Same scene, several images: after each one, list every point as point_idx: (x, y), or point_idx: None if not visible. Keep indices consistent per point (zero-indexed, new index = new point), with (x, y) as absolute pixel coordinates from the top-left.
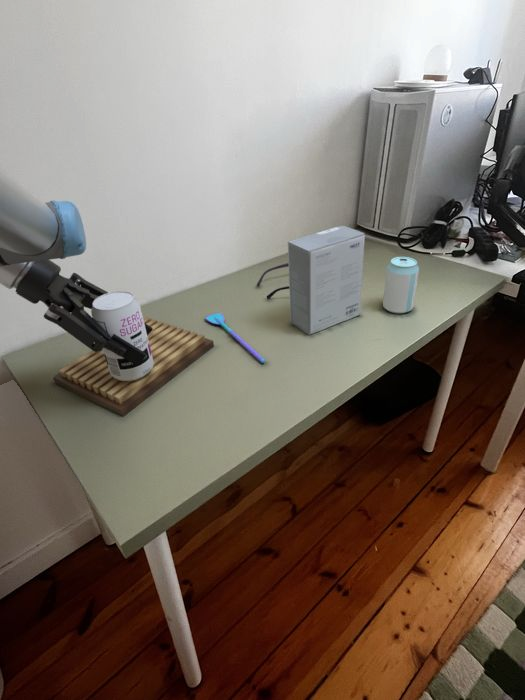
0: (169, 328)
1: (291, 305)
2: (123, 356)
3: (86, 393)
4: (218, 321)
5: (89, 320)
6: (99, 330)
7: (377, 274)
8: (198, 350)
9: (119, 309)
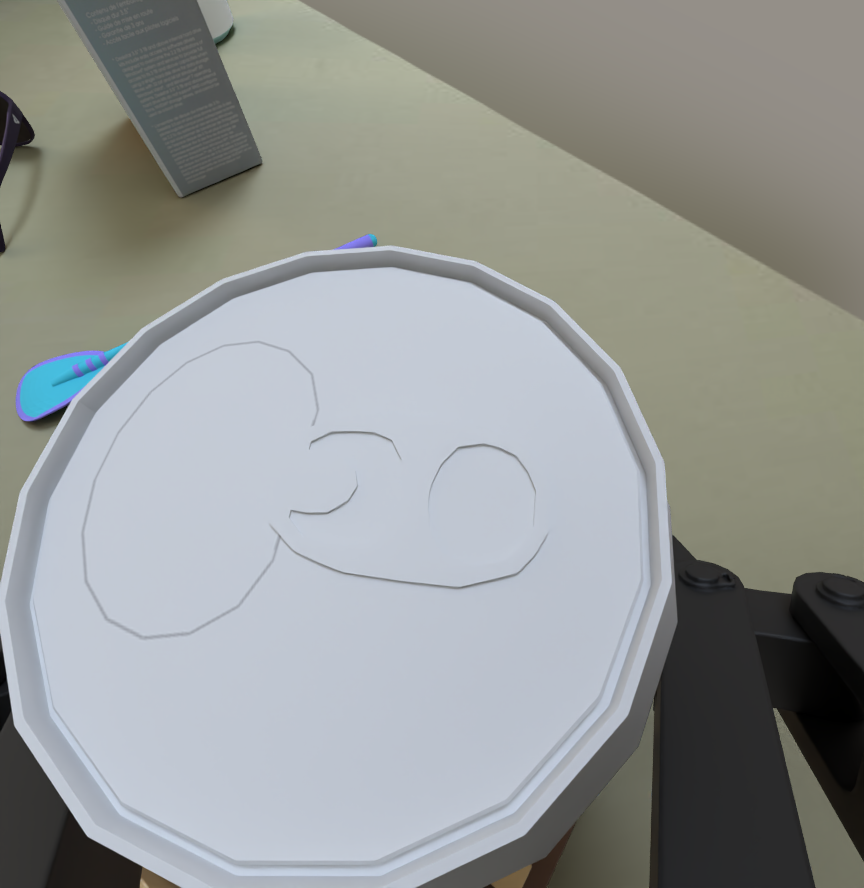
0: None
1: (150, 132)
2: None
3: (549, 877)
4: (94, 365)
5: (798, 819)
6: (758, 652)
7: (25, 52)
8: None
9: (586, 354)
